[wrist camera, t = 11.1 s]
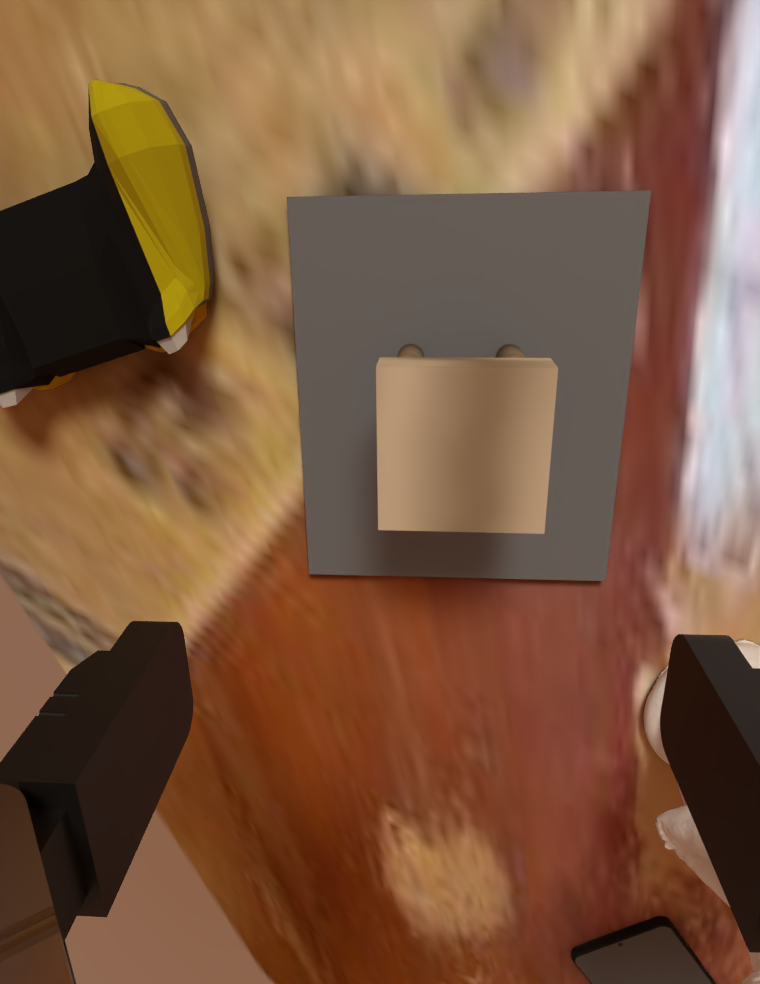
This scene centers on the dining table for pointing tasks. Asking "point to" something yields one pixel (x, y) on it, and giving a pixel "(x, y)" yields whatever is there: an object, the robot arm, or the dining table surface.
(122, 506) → the dining table surface
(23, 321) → the gaming controller
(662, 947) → the smartphone
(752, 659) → the cherub figurine
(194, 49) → the dining table surface
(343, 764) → the dining table surface
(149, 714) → the robot arm
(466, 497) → the stool
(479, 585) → the dining table surface
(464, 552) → the mat
